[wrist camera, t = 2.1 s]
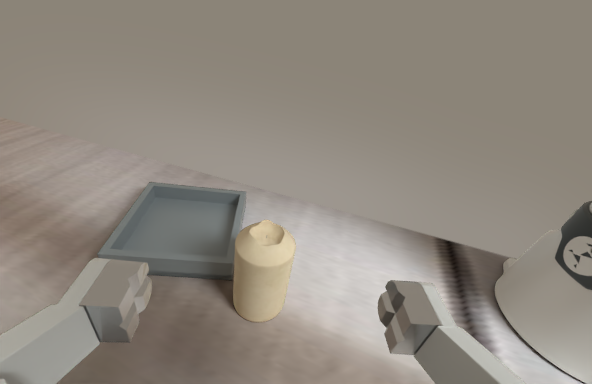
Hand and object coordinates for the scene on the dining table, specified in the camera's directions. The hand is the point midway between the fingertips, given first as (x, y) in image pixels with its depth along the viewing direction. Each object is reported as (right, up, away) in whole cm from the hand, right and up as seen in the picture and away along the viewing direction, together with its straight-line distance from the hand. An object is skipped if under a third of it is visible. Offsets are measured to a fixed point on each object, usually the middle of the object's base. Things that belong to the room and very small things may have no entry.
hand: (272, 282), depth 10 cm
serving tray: (-13, -2, +27) cm, 30 cm away
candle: (-3, -9, +21) cm, 23 cm away
